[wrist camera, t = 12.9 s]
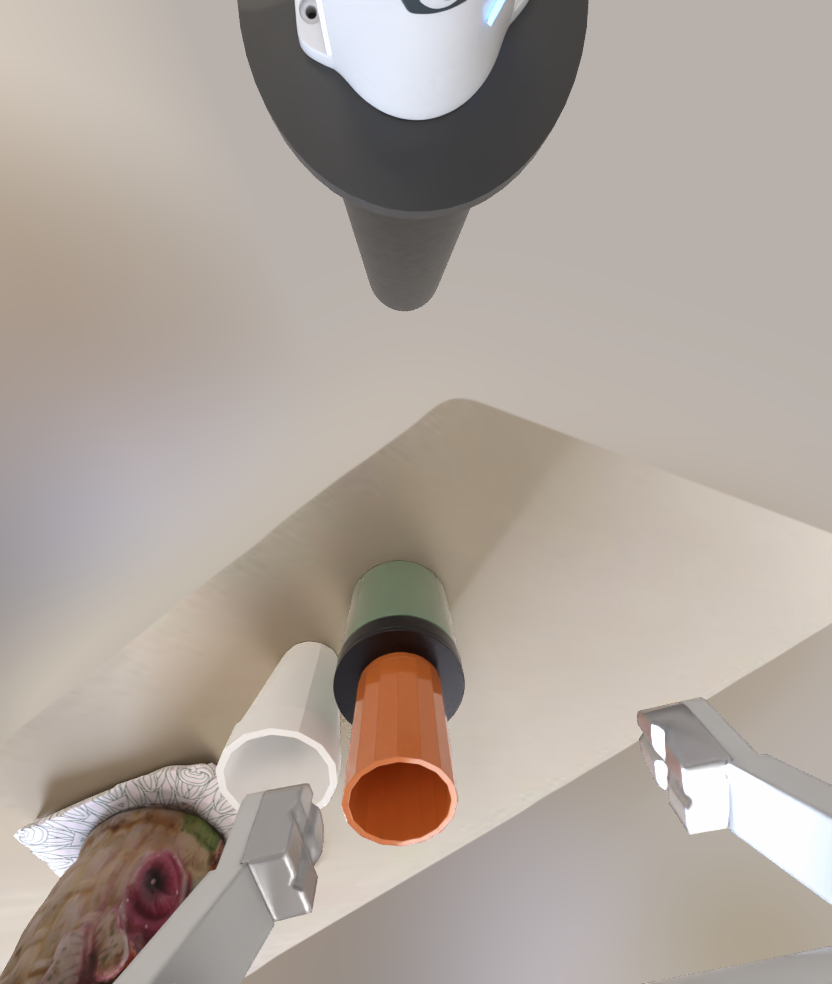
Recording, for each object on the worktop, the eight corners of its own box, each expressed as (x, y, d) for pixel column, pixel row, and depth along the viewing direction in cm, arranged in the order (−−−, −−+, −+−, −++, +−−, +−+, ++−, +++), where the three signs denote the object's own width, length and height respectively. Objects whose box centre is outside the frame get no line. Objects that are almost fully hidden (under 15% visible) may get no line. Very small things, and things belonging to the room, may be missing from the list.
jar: (339, 572, 42) (318, 642, 31) (435, 550, 42) (449, 612, 31) (365, 654, 45) (353, 745, 34) (455, 634, 45) (473, 719, 34)
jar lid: (321, 630, 33) (316, 646, 31) (447, 602, 32) (450, 616, 30) (355, 732, 35) (352, 752, 33) (471, 706, 35) (475, 725, 33)
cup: (348, 661, 31) (328, 771, 22) (431, 643, 31) (444, 746, 22) (369, 729, 33) (358, 855, 24) (449, 712, 33) (467, 832, 24)
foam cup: (262, 695, 46) (210, 814, 33) (272, 622, 44) (220, 721, 31) (347, 707, 47) (328, 828, 34) (361, 636, 44) (346, 738, 32)
